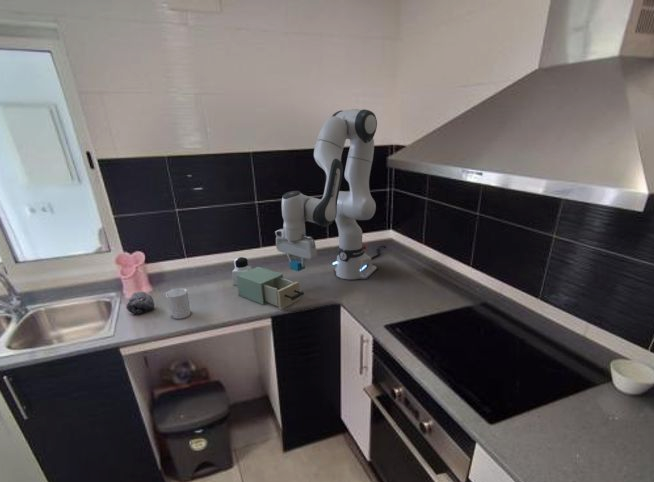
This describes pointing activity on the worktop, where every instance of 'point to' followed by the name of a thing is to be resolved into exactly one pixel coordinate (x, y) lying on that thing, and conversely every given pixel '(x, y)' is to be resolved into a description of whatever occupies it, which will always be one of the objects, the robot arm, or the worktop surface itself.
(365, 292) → the worktop surface
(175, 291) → the white cup
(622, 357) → the worktop surface
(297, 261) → the blue cube
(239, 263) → the astronaut figurine
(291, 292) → the drawer with handle
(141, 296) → the pumice stone
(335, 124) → the robot arm
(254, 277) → the drawer cabinet
